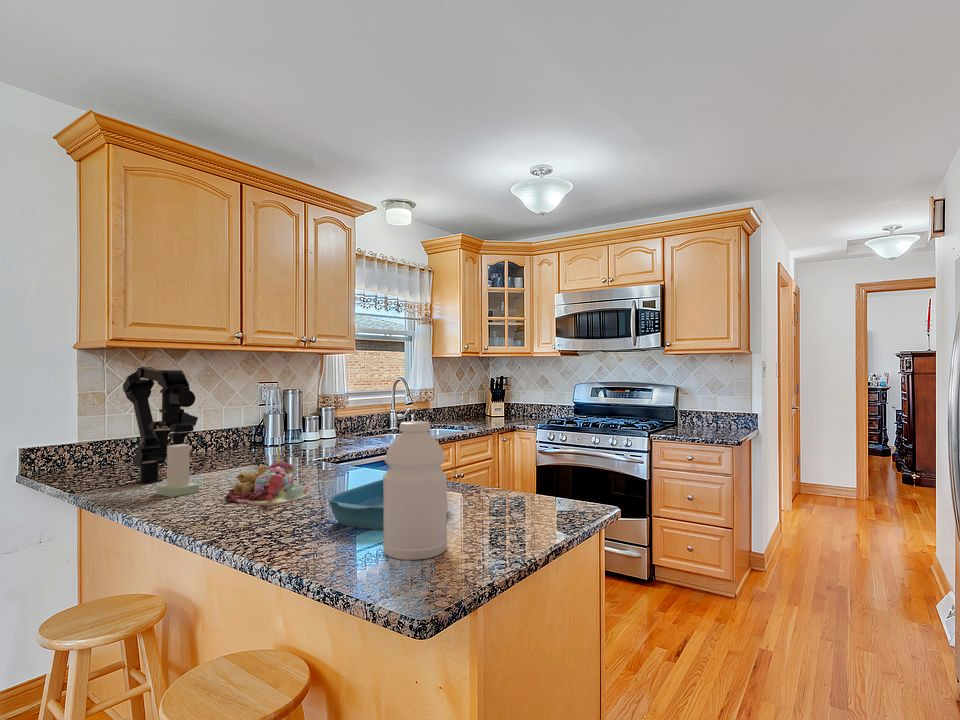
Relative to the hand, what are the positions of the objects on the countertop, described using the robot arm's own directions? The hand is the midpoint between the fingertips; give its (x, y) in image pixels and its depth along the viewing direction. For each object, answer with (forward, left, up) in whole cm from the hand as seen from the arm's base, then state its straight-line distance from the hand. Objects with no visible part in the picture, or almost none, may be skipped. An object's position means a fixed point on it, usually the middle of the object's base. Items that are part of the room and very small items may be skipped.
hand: (170, 451), depth 187 cm
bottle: (+115, -5, -12) cm, 116 cm away
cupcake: (+25, +26, -12) cm, 38 cm away
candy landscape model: (+41, +10, -13) cm, 44 cm away
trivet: (+13, -4, -12) cm, 18 cm away
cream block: (+13, -4, -10) cm, 17 cm away
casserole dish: (+89, +14, -12) cm, 91 cm away
